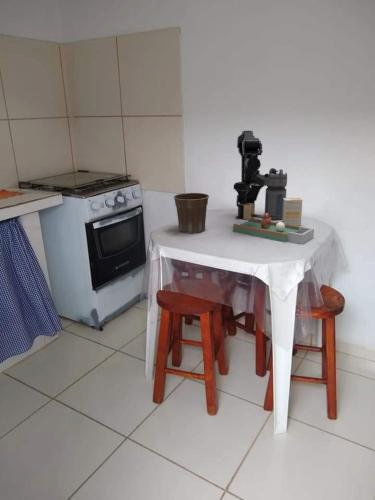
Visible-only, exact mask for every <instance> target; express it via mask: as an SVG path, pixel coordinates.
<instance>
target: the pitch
mask: <svg viewBox="0 0 375 500" xmlns="http://www.w3.org/2000/svg"><path fill="white" fill-rule="evenodd" d="M261 220H262V219H261V218H255V217H254V219H253V220H246V221H245V222H242V223H240V224H238V223H233V225H232V232H234V233H239V234H243V235H244V234H245V235H248V236H252V237H253V236H254V237H259V238H262V239H269V240H273V241H279V242H283V243H287V242H289V243H294V244H298V245H299V244H300V245H303V244H305V243H307V242H308V241H309V242H310V241H311V240H312V239H313V238H314V233H315V228H311V227H308V226H307V227H306V226H295V225H289V224H284V225H285V229H284V230H283V231H278V230H277V229H276V224H277V223H279V222H277V221H272V220H271V226H270V227H268V228H266V229H263V228H261Z"/></svg>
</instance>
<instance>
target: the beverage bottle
mask: <svg viewBox="0 0 375 500" xmlns="http://www.w3.org/2000/svg"><path fill="white" fill-rule="evenodd" d="M278 172H279V173H278ZM268 174H269V175H270V182H268V184H267V186H266V188H265V195H264V196H265V198H264V214H265V213H268V214H269V217H271V220H272V219H278V220H282V216H283V198H287V189H286V187H287V183H288V173H287V172H285V173H284V171H283V169H279V170H277V169H276V168H272V167H271V168H270V169H269V172H268Z"/></svg>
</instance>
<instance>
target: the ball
mask: <svg viewBox="0 0 375 500" xmlns="http://www.w3.org/2000/svg"><path fill="white" fill-rule="evenodd" d="M276 229H277V230H278V231H283V230H284V229H285V225H284V223H282V221H279V222H278V223H277V224H276Z"/></svg>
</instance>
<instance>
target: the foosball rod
mask: <svg viewBox="0 0 375 500" xmlns="http://www.w3.org/2000/svg"><path fill="white" fill-rule="evenodd" d="M255 207H256V204H255V203H254V204H251V203H246V204H245V205H244V217H243V219H242V220H246V221H248V220H253V219H254V218H255V219H260V220H261V228H263V229H266V228H268V227H270V226H271V221H272V219H271V217H269V214H268V213H265V212H264V214H263V215H262V214H257V213H256V210H255Z"/></svg>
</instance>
